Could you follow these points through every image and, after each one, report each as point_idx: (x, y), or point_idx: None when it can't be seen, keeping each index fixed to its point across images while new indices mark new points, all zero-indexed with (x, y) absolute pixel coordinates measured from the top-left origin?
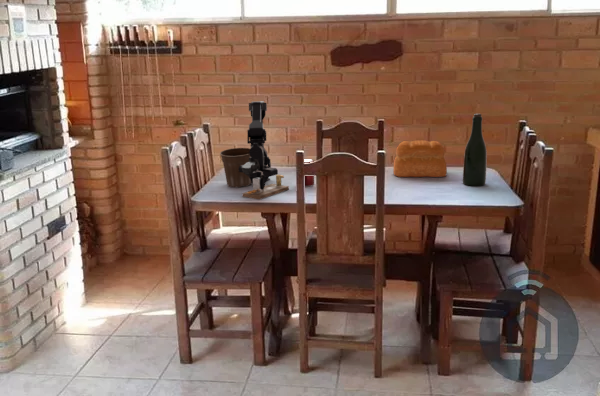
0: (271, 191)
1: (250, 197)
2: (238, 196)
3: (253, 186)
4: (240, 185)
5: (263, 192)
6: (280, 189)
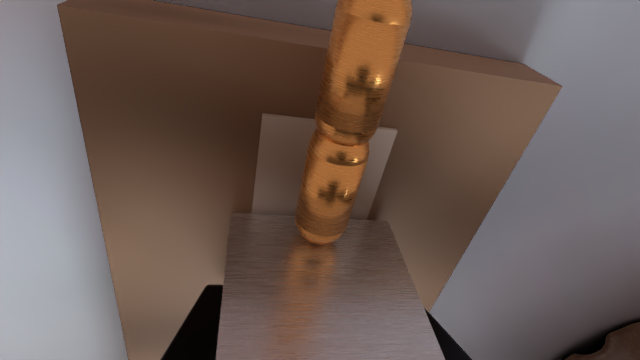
0: (147, 330)
1: None
2: (594, 35)
3: (407, 297)
4: (621, 346)
5: (215, 259)
6: None
